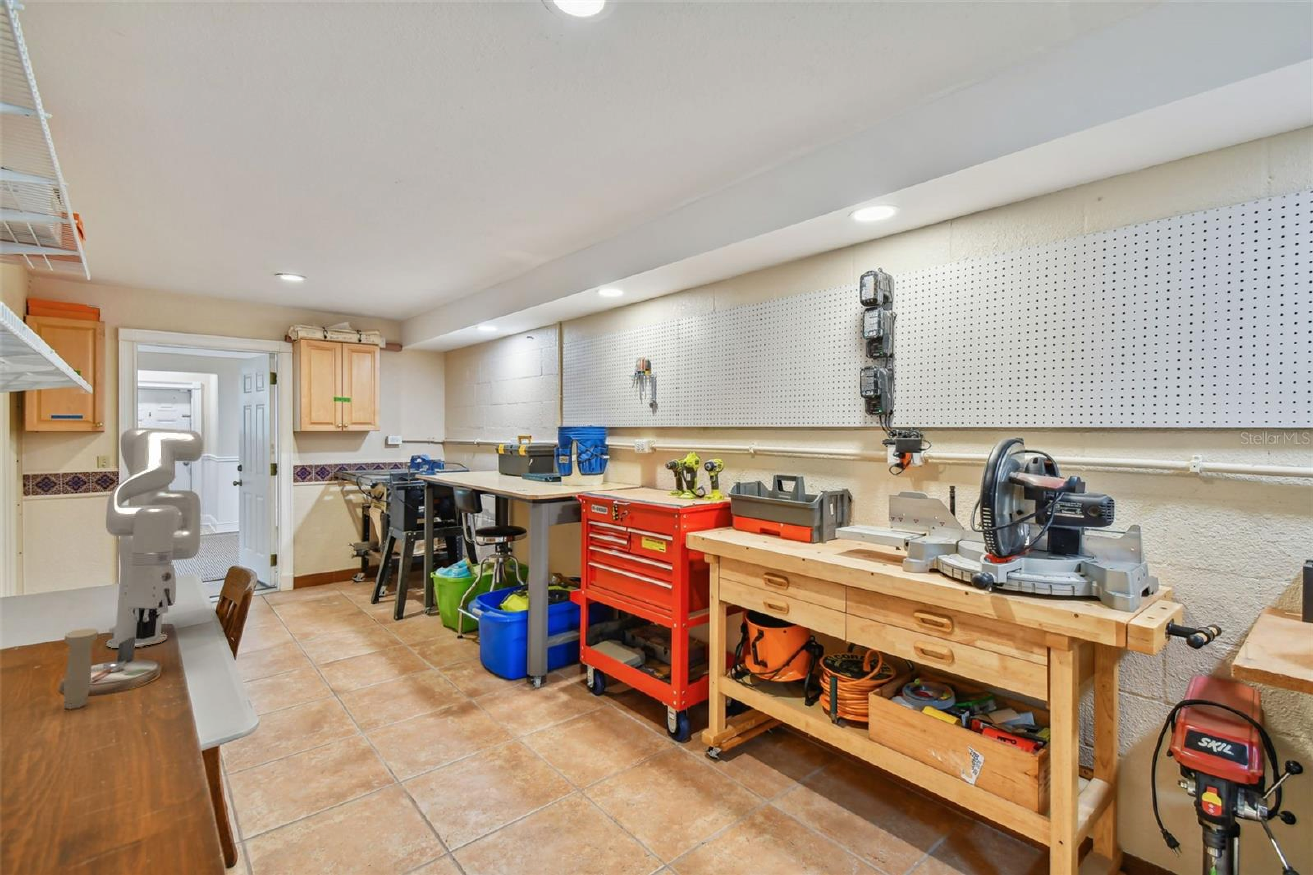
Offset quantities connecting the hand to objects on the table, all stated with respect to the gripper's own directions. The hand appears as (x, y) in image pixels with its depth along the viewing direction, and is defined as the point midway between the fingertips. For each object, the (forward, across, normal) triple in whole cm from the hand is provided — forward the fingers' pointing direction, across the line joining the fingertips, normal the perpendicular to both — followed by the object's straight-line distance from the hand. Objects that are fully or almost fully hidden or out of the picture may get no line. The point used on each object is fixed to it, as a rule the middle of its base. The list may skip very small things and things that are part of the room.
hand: (145, 637), depth 139 cm
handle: (+10, -5, +17) cm, 20 cm away
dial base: (+9, +2, +5) cm, 10 cm away
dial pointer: (+6, +2, +5) cm, 8 cm away
